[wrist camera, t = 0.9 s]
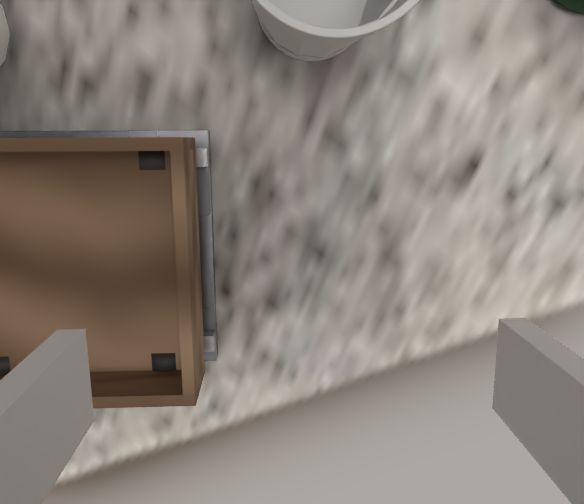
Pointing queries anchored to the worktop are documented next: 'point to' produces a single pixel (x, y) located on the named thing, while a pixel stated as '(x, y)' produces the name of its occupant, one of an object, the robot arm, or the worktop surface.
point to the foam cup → (3, 35)
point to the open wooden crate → (105, 261)
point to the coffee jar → (573, 5)
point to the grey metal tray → (203, 212)
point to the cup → (324, 23)
